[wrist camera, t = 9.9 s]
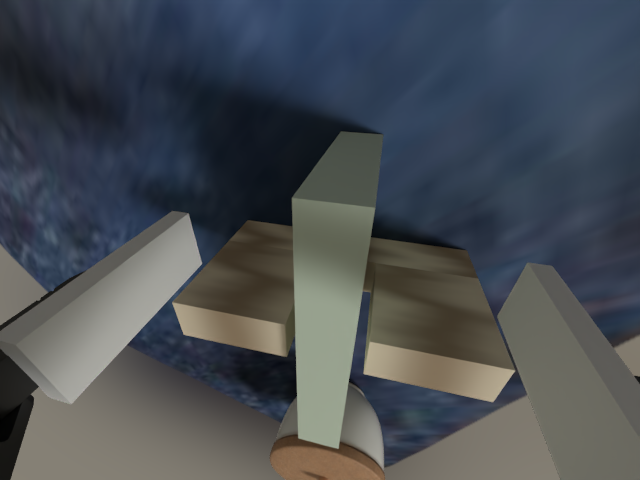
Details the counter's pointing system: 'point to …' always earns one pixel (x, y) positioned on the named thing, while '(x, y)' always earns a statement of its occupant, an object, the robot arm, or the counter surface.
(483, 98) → the counter surface
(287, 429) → the lidded jar
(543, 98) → the counter surface
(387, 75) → the counter surface
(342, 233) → the sage plate
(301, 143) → the counter surface
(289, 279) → the beech u-shaped block
